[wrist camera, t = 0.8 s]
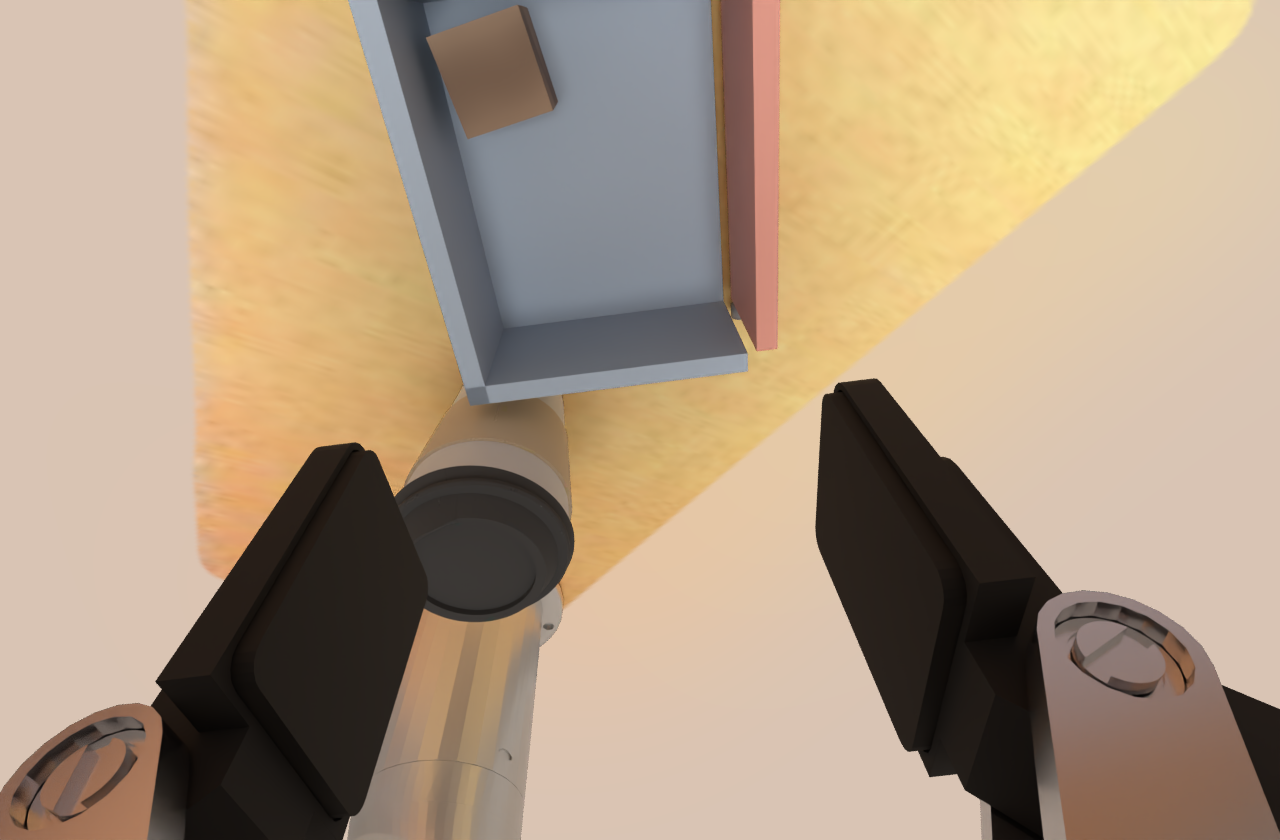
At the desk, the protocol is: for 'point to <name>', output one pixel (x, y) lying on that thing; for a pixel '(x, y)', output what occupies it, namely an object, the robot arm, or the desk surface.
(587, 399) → the desk surface
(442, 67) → the cargo block
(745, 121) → the tailgate
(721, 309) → the tray
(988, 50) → the desk surface
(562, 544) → the coffee cup
